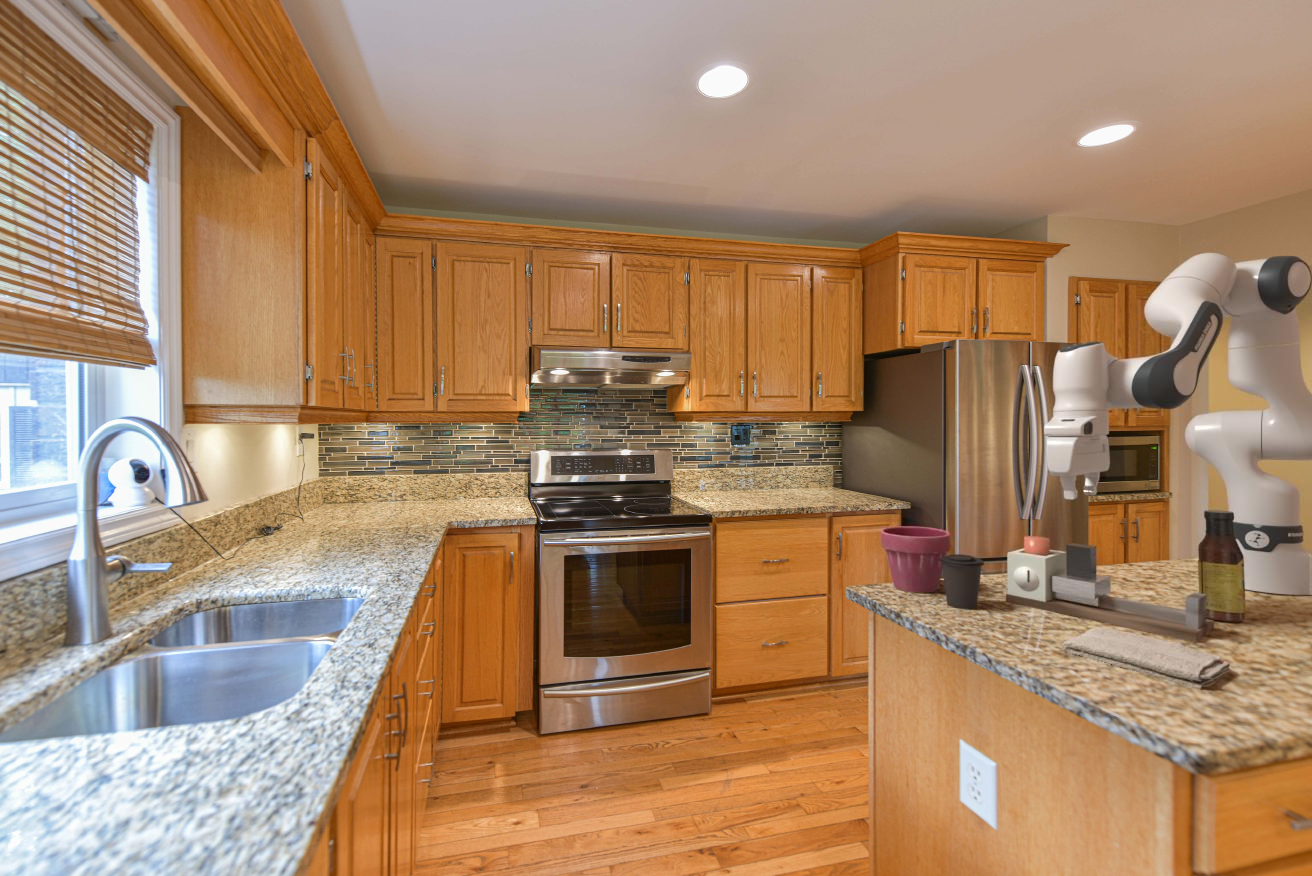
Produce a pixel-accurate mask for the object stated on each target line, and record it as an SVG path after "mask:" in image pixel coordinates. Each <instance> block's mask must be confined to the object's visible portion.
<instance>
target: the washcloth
mask: <svg viewBox="0 0 1312 876" xmlns="http://www.w3.org/2000/svg"><path fill="white" fill-rule="evenodd" d="M1061 649H1062V652H1064V651H1065V652H1064V653H1066V652H1068V653H1067V654H1069V653H1072V654H1071V655H1073V654H1076V655H1081V656H1084V657H1086V658H1085V659H1087V658H1090V659H1089V660H1091V659H1093V660H1092V661H1094V660H1097V661H1096V662H1099V661H1101V662H1100V663H1102V662H1104V663H1103V664H1105V663H1108V664H1112V665H1111V666H1113V665H1115V666H1114V667H1116V666H1118V667H1117V668H1119V667H1122V668H1121V669H1124V668H1126V669H1125V670H1128V669H1129V670H1128V671H1131V670H1132V671H1131V672H1135V671H1136V673H1138V674H1142V673H1143V674H1142V675H1146V676H1149V677H1153V678H1157V679H1161V680H1163V681H1166V680H1167V681H1168V682H1170V683H1175V684H1178V685H1182V686H1184V687H1188V688H1191V689H1196V690H1200V691H1201V690H1202V688H1205V687H1206V688H1207V687H1211V686H1212V685H1215V684H1216V682H1217V681H1218V680H1220V679H1222V678H1223V677H1225V676H1226V675H1227V674H1229V672H1230V670H1231V668H1230V665H1231V663H1230V662H1228V661H1224V660H1221V656H1220V655H1217V654H1210V653H1206V652H1202V651H1199V650H1196V649H1194V648H1189V647H1187V646H1186V645H1184V644H1183V643H1181V642H1177V641H1167V640H1161V639H1156V638H1152V637H1150V636H1149V637H1148V636H1145V635H1142V634H1138V633H1133V632H1128V631H1121V630H1117V629H1113V628H1110V627H1104V626H1103V627H1100V626H1099V627H1091V628H1090V629H1088V630H1086V631H1085V632H1084V633H1083V634H1082V635H1078V636H1074V637H1072V638H1070V639H1067V640H1066V641H1063V643H1062V645H1061ZM1076 655H1075V656H1076ZM1084 657H1083V658H1084ZM1108 664H1107V665H1108ZM1167 681H1166V682H1167Z"/></svg>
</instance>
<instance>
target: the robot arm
mask: <svg viewBox="0 0 1312 876" xmlns="http://www.w3.org/2000/svg"><path fill="white" fill-rule="evenodd" d="M1311 287H1312V271H1311V268H1310V266H1309V265H1308V263H1307V262H1306V261H1304V260H1303V259H1302V258H1300V257H1299V256H1295V255H1279V256H1278V255H1277V256H1276V255H1275V256H1271V257H1269V258H1260V259H1259V258H1258V259H1252V260H1246V261H1239V262H1234V260H1233V259H1231V258H1230V257H1229V256H1227V255H1224V254H1222V253H1218V252H1203V253H1200V254H1199V253H1198V254H1196V255H1193V256H1191V257H1189V259H1187V260H1185V261H1184V262H1182V264H1180V265H1179V266H1177V267H1176V268H1175V269H1174V270H1173V271H1171V273H1169V275H1168V276H1167V277H1165V278H1164V279H1163V280H1162V281H1161V282H1160V284H1159V285H1158V286H1157V287H1156V288H1155V289H1154V291H1153V292H1152V293H1151V294H1150V296H1149V297H1148V299H1147V300H1146V302H1145V304H1144V305H1145V306H1144V309H1143V312H1144V317H1145V319H1146V320H1145V321H1146V322H1147V324H1148V325H1149V326H1150V327H1151V328H1152V329H1153V330H1154V331H1156V332H1157V333H1159V334H1161V335H1163V336H1165V337H1167V338H1172V339H1174V340H1173V342H1172V343H1171V344H1170V347H1169V349H1167V350H1165V351H1163V352H1160V353H1157V354H1154V355H1149V356H1142V357H1141V356H1139V357H1133V358H1132V357H1131V358H1124V359H1123V358H1121V359H1120V358H1119V357H1116V356H1113V355H1112V354H1111V353H1109V352H1108V351H1107V350H1106V347H1105V344H1104V342H1101V341H1088V342H1081V343H1076V344H1070V345H1067V346H1066V345H1065V346H1064V347H1062V348H1060V349H1058V351H1057V352H1056V355H1055V357H1054V363H1053V364H1054V365H1053V373H1052V390H1053V394H1054V398H1055V401H1054V406H1053V409H1052V410H1053V411H1052V417H1051V419H1050V421H1047V423H1046V424H1044V427H1043V434H1044V436H1046V437H1047V440H1046V460H1047V461H1046V463H1047V469H1048V471H1049V474H1050V475H1051V476H1053V477H1054V476H1055V477H1060V478H1059V479H1060V483H1061V487H1062V490H1063V498H1064V499H1065V500H1077V498H1078V491H1079V490H1078V489H1077V488H1076V481H1077V476H1082V475H1084V477H1085V481H1084V485H1083V494H1084V495H1085V496H1095V495H1097V494H1098V492H1097V490H1098V489H1097V488H1098V483H1099V481H1100V477H1101V475H1100V474H1101V472H1107V471H1109V469H1110V465H1111V460H1110V459H1111V458H1110V444H1109V439H1108V438H1109V437H1108V436H1107V435H1109V434H1110V429H1109V428H1110V424H1109V423H1110V420H1109V419H1110V414H1109V413H1110V412H1109V410H1110V409H1111V410H1112V409H1157V410H1158V409H1160V410H1174V409H1176V408H1179V407H1180V406H1182V405H1184V403H1186V402H1187V401H1188V400H1189V399H1190V398H1191V397H1192V396H1193V394H1194V393H1195V391H1196V389H1197V386H1198V382H1199V377H1200V374H1201V371H1202V368H1203V366H1204V365H1205V363H1206V361H1207V359H1208V357H1209V355H1210V353H1211V350H1212V349H1213V347H1214V345H1215V344H1216V341H1217V338H1218V337H1219V335H1220V332H1221V330H1222V329H1223V323H1224V318H1231V319H1230V322H1229V328H1228V329H1229V330H1228V335H1227V337H1228V338H1227V379H1228V382H1229V383H1230V385H1231V386H1232V387H1233V388H1235V389H1236V390H1239V391H1241V392H1242V393H1246V394H1249V395H1252V396H1256V397H1259V398H1262V399H1263V400H1265V401H1266V402H1267V404H1268V408H1265V409H1248V410H1245V409H1243V410H1220V411H1215V412H1214V411H1212V412H1207V413H1202V414H1201V413H1200V414H1197V415H1196V416H1194V417H1193V418H1191V420H1190V421H1189V422H1188V423H1187V425H1186V427H1185V431H1184V440H1185V443H1186V445H1187V447H1188V448H1189V449H1190V450H1191V452H1193V454H1195V455H1196V456H1198V457H1200V458H1202V459H1204V460H1205V461H1206V462H1208V463H1209V464H1210V465H1211V466H1212V467H1213V468H1214V469H1215V470H1216V471H1217V472H1218V474H1219V475H1220V476H1221V479H1222V481H1223V482H1224V485H1225V489H1226V495H1227V511H1231V512H1233V513H1234V520H1233V532H1234V537H1235V539H1236V541H1237V543H1238V545H1239V548H1240V550H1241V552H1242V554H1243V556H1244V578H1245V580H1244V582H1245V590H1246V591H1253V592H1261V593H1267V594H1268V593H1269V594H1279V595H1292V596H1293V595H1295V596H1304V595H1305V596H1312V554H1311V553H1310V552H1309V551H1308V550H1307V549H1306V548H1305V547H1304V546H1303V542H1304V534H1305V533H1304V528H1303V526H1302V525H1301V493H1300V491H1299V489H1298V487H1296V486H1295V485H1294V484H1293V483H1291V482H1290V481H1288V480H1285V479H1283V478H1282V477H1279V476H1275V475H1273V474H1270V473H1268V472H1266V471H1263V470H1262V469H1261V468H1260V467H1259V464H1258V463H1259V462H1260V461H1267V460H1268V461H1307V462H1308V461H1312V393H1311V391H1310V390H1309V388H1308V386H1307V385H1306V383H1305V379H1304V376H1303V370H1302V362H1301V361H1302V359H1301V331H1300V323H1299V319H1298V314H1297V310H1296V307H1297V306H1299V304H1301V303H1302V301H1303V300H1304V299H1306V297H1307V295H1309V292H1310V290H1311Z"/></svg>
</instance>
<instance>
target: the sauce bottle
mask: <svg viewBox="0 0 1312 876" xmlns="http://www.w3.org/2000/svg"><path fill="white" fill-rule="evenodd" d="M1203 516H1204V519H1205V535H1204V538H1202V540H1200V543H1199V544H1198V548H1197V549H1198V560H1197V571H1198V572H1197V573H1198V593H1200V594H1206V619H1209V620H1214V621H1219V622H1226V623H1227V622H1228V623H1229V622H1230V623H1240V622H1244V621H1245V613H1246V610H1247V609H1246V589H1245V582H1244V580H1245V578H1244V556H1243V554H1242V552H1241V550H1240V548H1239V545H1238V543H1237V541H1236V539H1235V537H1234V532H1233V520H1234V513H1233V512H1231V511H1228V510H1214V509H1211V510H1210V509H1208V510H1204V513H1203Z"/></svg>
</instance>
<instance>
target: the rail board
mask: <svg viewBox="0 0 1312 876" xmlns="http://www.w3.org/2000/svg"><path fill="white" fill-rule="evenodd" d="M1005 602H1007V603H1010V604H1015V605H1019V606H1025V607H1028V608H1029V607H1030V608H1034V609H1040V610H1044V611H1049V612H1052V613H1057V614H1062V615H1067V616H1070V615H1071V616H1072V617H1076V618H1081V619H1084V618H1085V620H1089V621H1093V622H1098V623H1104V624H1109V625H1112V624H1113V626H1118V627H1123V628H1126V627H1127V628H1128V629H1131V628H1132V630H1136V631H1141V632H1145V633H1149V632H1150V634H1155V635H1160V636H1163V635H1164V636H1163V637H1168V636H1169V638H1174V639H1177V638H1178V639H1179V640H1182V641H1188V642H1192V643H1197V642H1199V641H1200V640H1202V639H1203V638H1204V637H1206V636H1207V635H1208V634H1210V633H1211V632H1212V631H1213V630H1214V629H1215V620H1214V619H1210V618H1206V594H1200V593H1199V592H1192V593H1191V594H1189V595H1187V596H1185V609H1181V608H1175V607H1171V606H1165V605H1159V604H1155V603H1154V604H1153V603H1148V602H1143V601H1137V600H1134V599H1133V600H1132V599H1128V598H1127V599H1126V598H1121V597H1117V596H1116V597H1115V596H1110V595H1107V596H1106V595H1103V596H1101V597H1100V606H1094V605H1089V604H1084V603H1079V602H1074V601H1069V600H1064V599H1059V598H1056V592H1054V598H1053V599H1051V600H1049V601H1046V602H1044V601H1039V600H1034V599H1029V598H1024V597H1020V596H1015V595H1010V594H1007V593H1006V594H1005ZM1127 628H1126V629H1127Z"/></svg>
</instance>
